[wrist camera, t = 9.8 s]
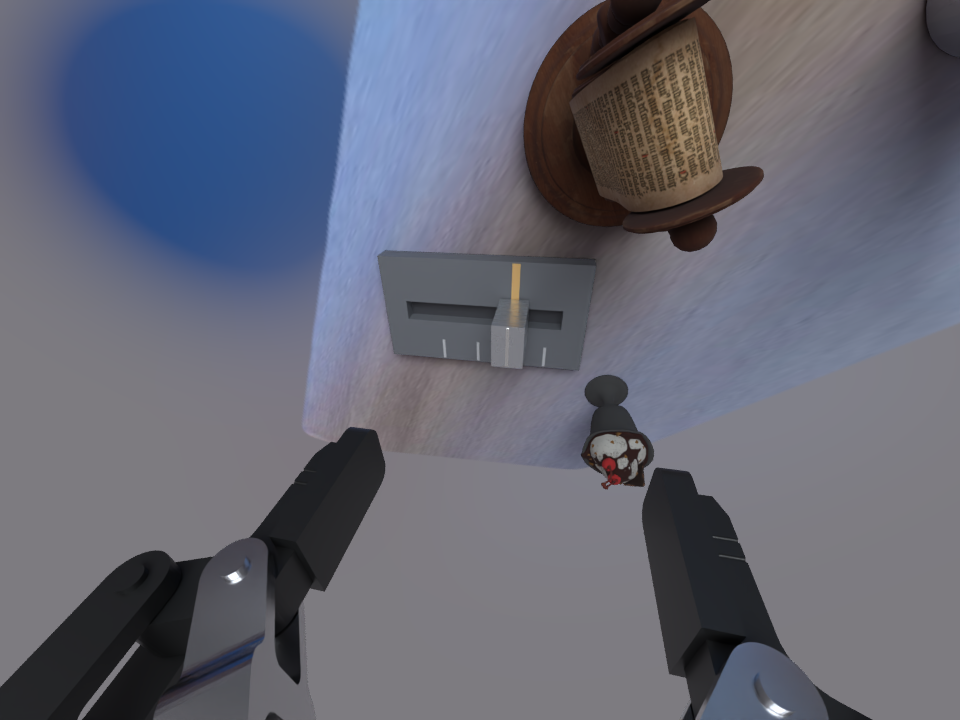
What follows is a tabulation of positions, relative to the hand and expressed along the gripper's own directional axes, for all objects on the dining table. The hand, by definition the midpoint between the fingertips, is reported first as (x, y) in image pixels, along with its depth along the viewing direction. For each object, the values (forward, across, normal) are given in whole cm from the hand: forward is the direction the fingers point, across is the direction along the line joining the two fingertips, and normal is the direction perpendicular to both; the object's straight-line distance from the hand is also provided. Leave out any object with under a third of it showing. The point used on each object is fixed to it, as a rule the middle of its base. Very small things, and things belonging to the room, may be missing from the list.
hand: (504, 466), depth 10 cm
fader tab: (+29, +3, +9) cm, 31 cm away
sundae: (+30, -8, +19) cm, 36 cm away
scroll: (+30, -5, -8) cm, 31 cm away
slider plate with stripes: (+29, +7, +9) cm, 31 cm away
